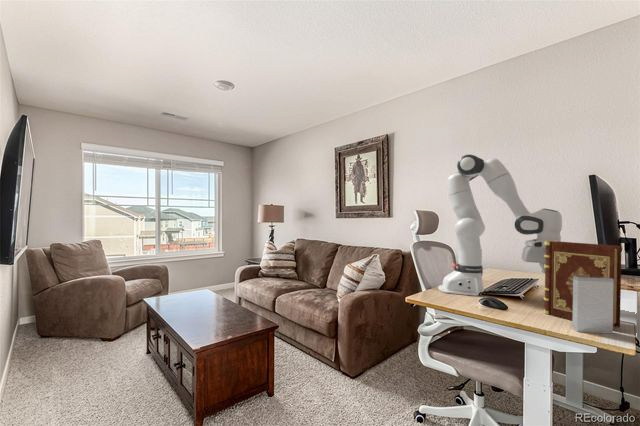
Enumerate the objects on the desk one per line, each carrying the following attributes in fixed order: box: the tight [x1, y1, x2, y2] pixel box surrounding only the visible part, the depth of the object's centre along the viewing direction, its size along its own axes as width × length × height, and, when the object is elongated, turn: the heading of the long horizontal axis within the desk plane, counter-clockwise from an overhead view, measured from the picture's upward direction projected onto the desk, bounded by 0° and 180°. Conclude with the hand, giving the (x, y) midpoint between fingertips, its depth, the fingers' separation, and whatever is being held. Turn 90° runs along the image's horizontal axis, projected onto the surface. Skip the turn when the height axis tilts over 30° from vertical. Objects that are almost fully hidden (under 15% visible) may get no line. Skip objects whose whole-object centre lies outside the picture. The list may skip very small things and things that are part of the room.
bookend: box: [571, 276, 614, 335], centre depth 106 cm, size 11×2×19 cm, turn 81°
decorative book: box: [543, 241, 622, 331], centre depth 118 cm, size 22×8×30 cm, turn 31°
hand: (546, 272), depth 141 cm, fingers closed
